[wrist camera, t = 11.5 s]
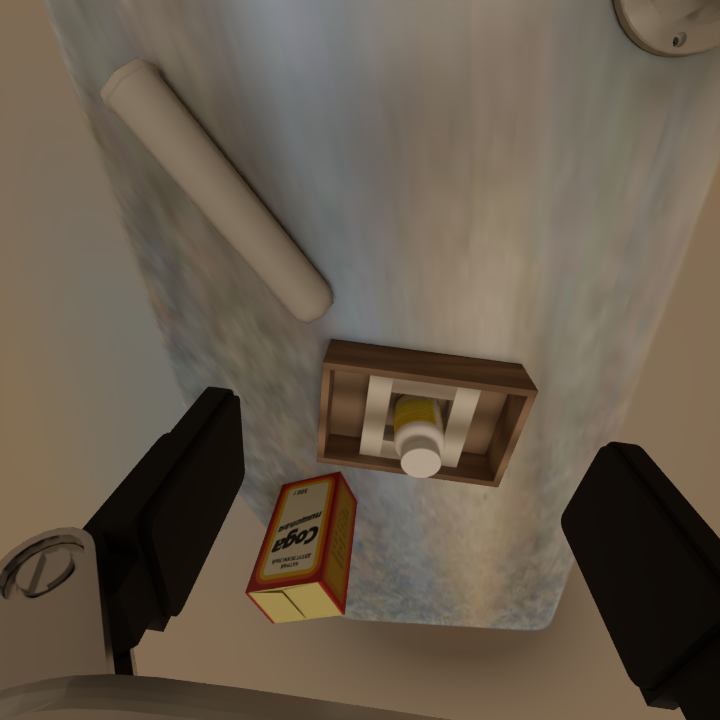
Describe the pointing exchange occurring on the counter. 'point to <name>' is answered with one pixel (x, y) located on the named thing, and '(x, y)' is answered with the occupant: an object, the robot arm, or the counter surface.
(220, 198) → the tube
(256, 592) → the baking soda box
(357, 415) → the crate
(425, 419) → the supplement bottle
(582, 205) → the counter surface
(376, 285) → the counter surface
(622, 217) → the counter surface
